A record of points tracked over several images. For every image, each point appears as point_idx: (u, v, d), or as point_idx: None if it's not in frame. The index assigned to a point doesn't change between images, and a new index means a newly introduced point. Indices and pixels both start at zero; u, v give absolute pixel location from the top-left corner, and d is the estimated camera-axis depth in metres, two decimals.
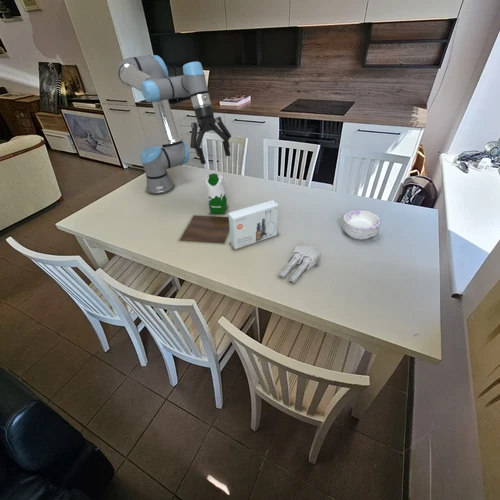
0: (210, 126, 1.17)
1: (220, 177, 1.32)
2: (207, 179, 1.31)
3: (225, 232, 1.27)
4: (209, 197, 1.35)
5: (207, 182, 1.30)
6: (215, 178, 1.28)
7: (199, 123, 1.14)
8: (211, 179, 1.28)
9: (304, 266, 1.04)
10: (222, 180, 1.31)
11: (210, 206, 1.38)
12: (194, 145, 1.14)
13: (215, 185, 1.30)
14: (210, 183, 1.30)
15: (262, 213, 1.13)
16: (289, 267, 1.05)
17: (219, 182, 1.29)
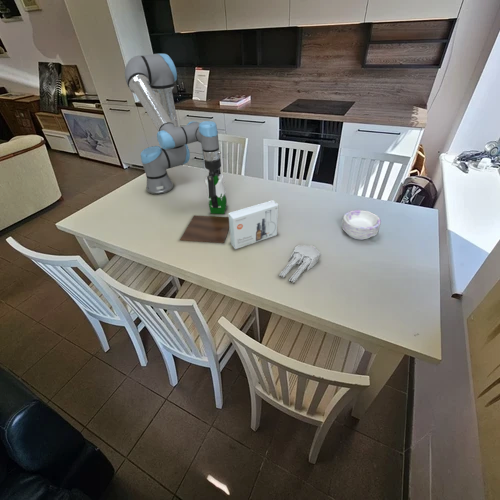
0: None
1: (220, 177, 1.32)
2: (207, 179, 1.31)
3: (225, 232, 1.27)
4: (209, 197, 1.35)
5: (207, 182, 1.30)
6: (215, 178, 1.28)
7: (213, 174, 1.27)
8: None
9: (304, 266, 1.04)
10: (222, 180, 1.31)
11: (210, 206, 1.38)
12: (214, 195, 1.29)
13: (215, 185, 1.30)
14: None
15: (262, 213, 1.13)
16: (289, 267, 1.05)
17: (219, 182, 1.29)
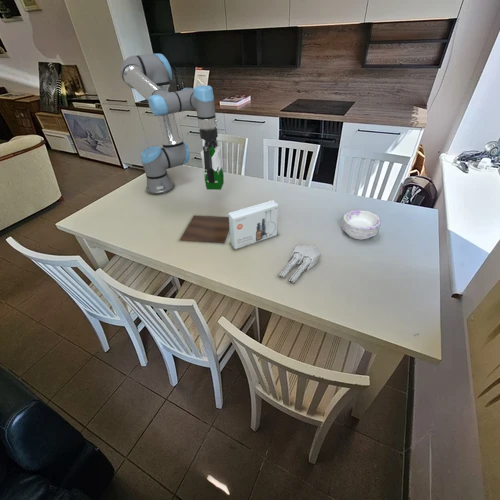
0: (213, 145, 1.23)
1: (217, 149, 1.23)
2: (203, 151, 1.22)
3: (225, 232, 1.27)
4: (205, 171, 1.27)
5: (203, 154, 1.21)
6: (211, 149, 1.20)
7: (209, 145, 1.18)
8: None
9: (304, 266, 1.04)
10: (219, 152, 1.23)
11: (206, 181, 1.30)
12: (210, 167, 1.21)
13: None
14: None
15: (262, 213, 1.13)
16: (289, 267, 1.05)
17: (215, 154, 1.21)
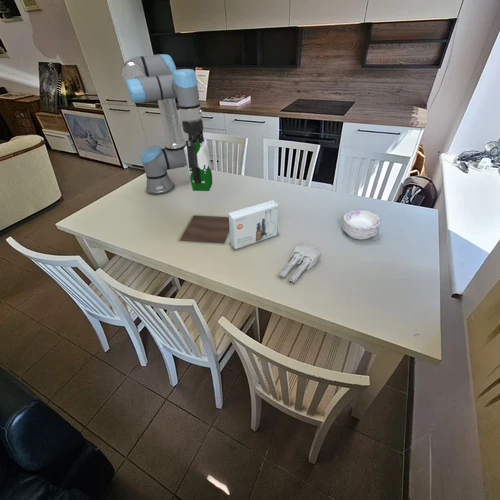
0: (198, 140, 1.07)
1: (203, 144, 1.07)
2: None
3: (225, 232, 1.27)
4: (190, 169, 1.11)
5: (186, 150, 1.05)
6: (196, 144, 1.04)
7: (193, 139, 1.02)
8: None
9: (304, 266, 1.04)
10: (205, 148, 1.07)
11: (192, 181, 1.14)
12: (195, 165, 1.05)
13: (196, 153, 1.05)
14: None
15: (262, 213, 1.13)
16: (289, 267, 1.05)
17: (201, 149, 1.05)
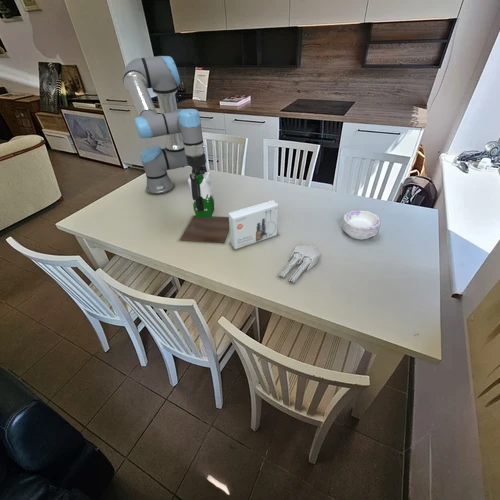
0: (201, 172, 1.13)
1: (206, 175, 1.13)
2: None
3: (225, 232, 1.27)
4: None
5: (190, 181, 1.11)
6: (199, 176, 1.10)
7: (196, 172, 1.09)
8: None
9: (304, 266, 1.04)
10: (208, 179, 1.13)
11: (195, 209, 1.20)
12: (198, 196, 1.11)
13: (199, 184, 1.12)
14: None
15: (262, 213, 1.13)
16: (289, 267, 1.05)
17: (204, 181, 1.11)
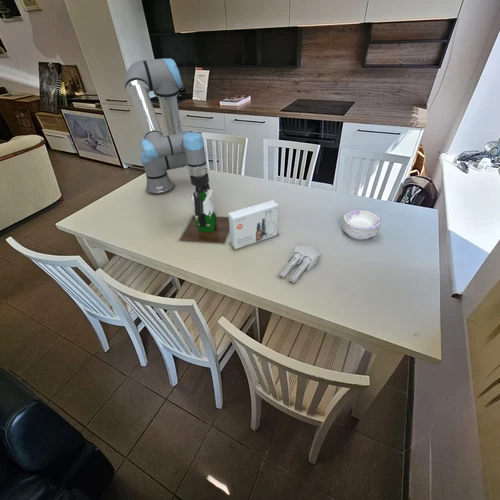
0: (204, 190, 1.18)
1: (208, 193, 1.19)
2: None
3: (225, 232, 1.27)
4: None
5: None
6: (202, 194, 1.15)
7: (199, 191, 1.14)
8: None
9: (304, 266, 1.04)
10: (210, 196, 1.18)
11: (198, 224, 1.25)
12: (201, 213, 1.16)
13: None
14: None
15: (262, 213, 1.13)
16: (289, 267, 1.05)
17: (207, 199, 1.16)
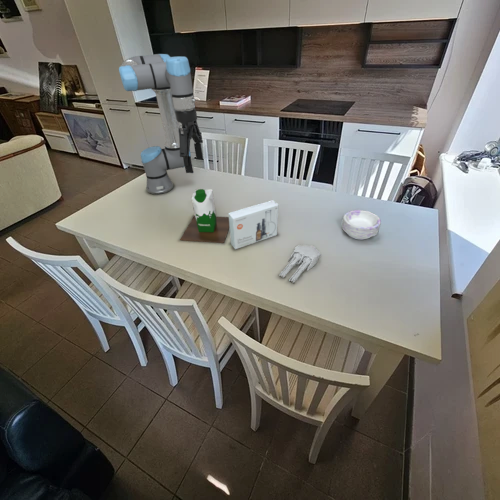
0: None
1: (208, 193, 1.19)
2: (194, 195, 1.17)
3: (225, 232, 1.27)
4: (196, 214, 1.22)
5: (194, 199, 1.16)
6: (202, 194, 1.15)
7: (186, 128, 1.01)
8: (198, 195, 1.15)
9: (304, 266, 1.04)
10: (210, 196, 1.18)
11: (198, 224, 1.25)
12: (186, 154, 1.01)
13: (202, 202, 1.17)
14: (197, 200, 1.16)
15: (262, 213, 1.13)
16: (289, 267, 1.05)
17: (207, 199, 1.16)
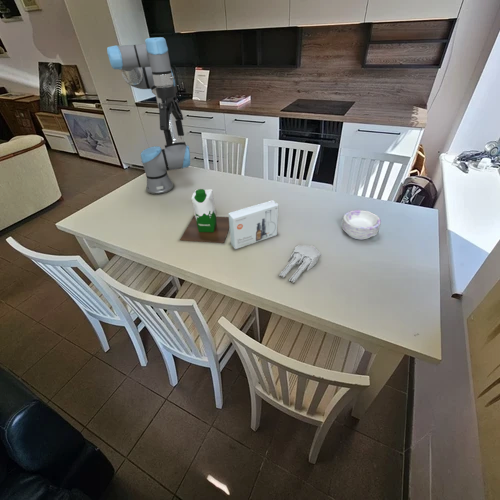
0: (172, 106, 1.16)
1: (208, 193, 1.19)
2: (194, 195, 1.17)
3: (225, 232, 1.27)
4: (196, 214, 1.22)
5: (194, 199, 1.16)
6: (202, 194, 1.15)
7: (166, 103, 1.11)
8: (198, 195, 1.15)
9: (304, 266, 1.04)
10: (210, 196, 1.18)
11: (198, 224, 1.25)
12: (166, 127, 1.12)
13: (202, 202, 1.17)
14: (197, 200, 1.16)
15: (262, 213, 1.13)
16: (289, 267, 1.05)
17: (207, 199, 1.16)
